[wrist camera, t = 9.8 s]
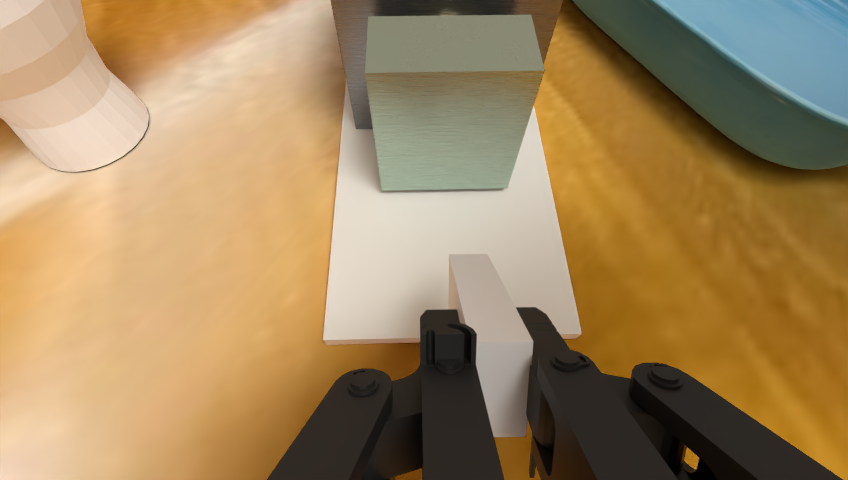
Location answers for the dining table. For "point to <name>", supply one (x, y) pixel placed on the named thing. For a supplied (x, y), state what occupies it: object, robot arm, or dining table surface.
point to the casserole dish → (747, 68)
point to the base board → (437, 244)
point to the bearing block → (357, 3)
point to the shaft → (450, 98)
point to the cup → (63, 88)
